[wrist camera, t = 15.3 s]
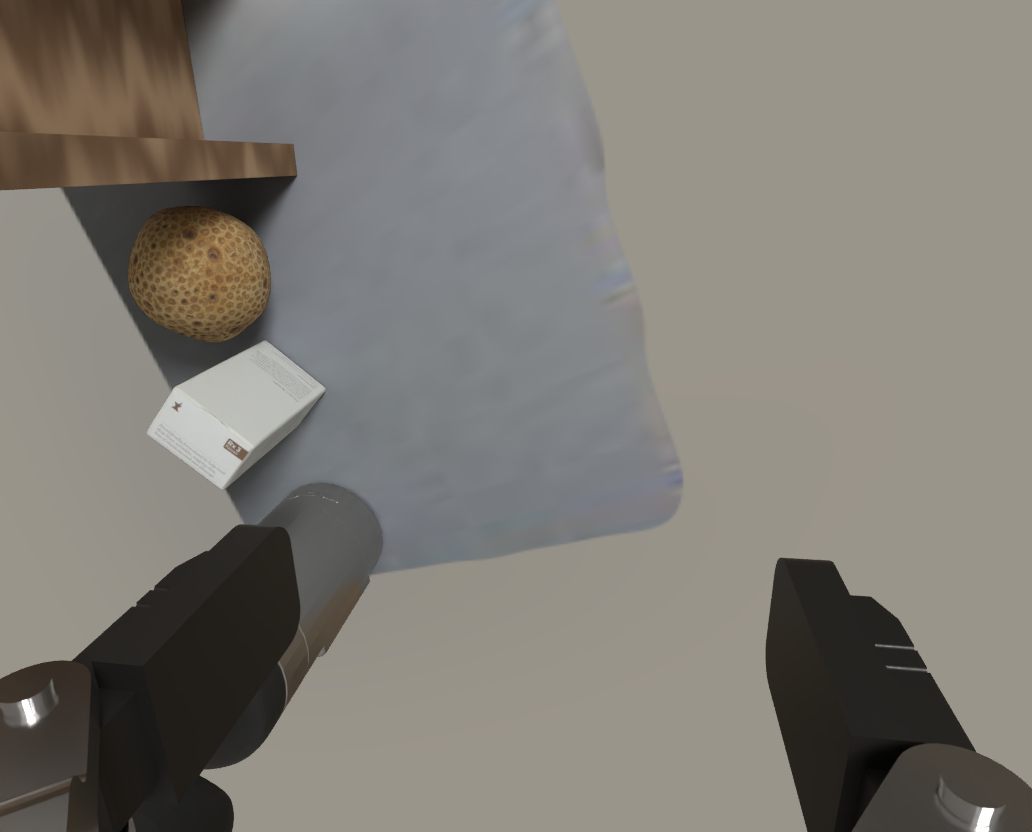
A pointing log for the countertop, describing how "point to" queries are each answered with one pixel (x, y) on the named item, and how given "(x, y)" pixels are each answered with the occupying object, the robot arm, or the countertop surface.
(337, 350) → the countertop surface
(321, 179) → the countertop surface
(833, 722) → the robot arm
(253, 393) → the skincare box
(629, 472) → the countertop surface
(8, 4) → the stand
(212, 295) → the natural sponge
